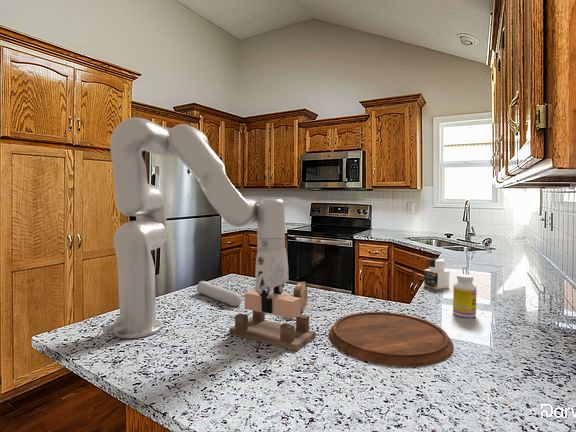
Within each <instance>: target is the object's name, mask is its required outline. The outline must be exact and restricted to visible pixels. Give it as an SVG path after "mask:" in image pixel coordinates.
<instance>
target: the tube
mask: <svg viewBox="0 0 576 432" xmlns="http://www.w3.org/2000/svg"><path fill="white" fill-rule="evenodd" d="M196 292H197V293H198V294H200V295H204V296H206V297H209V298H211V299H213V300H216V301H219V302H220V303H221V302H222V303H224V304H226V305H229V306H231V307H233V308H234V307H239V306H240V305H241V304H242V303H243V298H242V295H241V294H239V293H238V292H235V291H232V290H229V289H226V288H224V287H222V286H218V285H215V284H213V283H210V282H207V281H205V280H200V281H199V282H198V284H197V285H196Z"/></svg>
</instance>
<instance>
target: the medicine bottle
mask: <svg viewBox="0 0 576 432" xmlns="http://www.w3.org/2000/svg"><path fill="white" fill-rule="evenodd" d="M428 261H429V262H428V263H429V265H428V266H429V267H428V268H427V269H424V271H423V273H424V279H423V280H424V281H423V283H424V287H428V288H431V289H435V290H442V289H448V288H450V270H446V269H445V268H446V267H445V265H446V263H445V262H446V261H445V259H443V258H438V257H436V258H435V257H433V258H430V259H429V260H428Z"/></svg>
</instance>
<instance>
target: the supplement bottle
mask: <svg viewBox="0 0 576 432" xmlns="http://www.w3.org/2000/svg"><path fill="white" fill-rule="evenodd" d="M456 279H457V281H456V282H455V283H453V287H452V288H453V291H452V292H453V293H452V294H453V295H452V296H453V297H452V300H453V301H452V312H453V314H454V315H455V316H457V317H460V318H466V319H467V318H469V319H470V318H474V317H476V315H477V286H476V284H474V283H473V281H474V276H473V275H471V274H465V273H464V274H463V273H458V274H457V276H456Z"/></svg>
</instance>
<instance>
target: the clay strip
mask: <svg viewBox="0 0 576 432" xmlns="http://www.w3.org/2000/svg"><path fill="white" fill-rule="evenodd" d="M243 294H244V297H243V298H244V309H245V310H249V311H252V312H253V311H258V312H262V307H261V298H260V295H259V293H257V292H256V291H255V289H252V290H250V291H249V290H248V291H246V292H244V293H243ZM271 298H272V313H265V312H263V313H265V314H266V315H267V314H268V315H272V316H277V317H283V318H287V319H292V320H293V319H296V317H297V316H299V315H302V312H301V298H298V297H293V295H292V296H291V295H285V294H282V295H280V294H275V293H274V292H271Z"/></svg>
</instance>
